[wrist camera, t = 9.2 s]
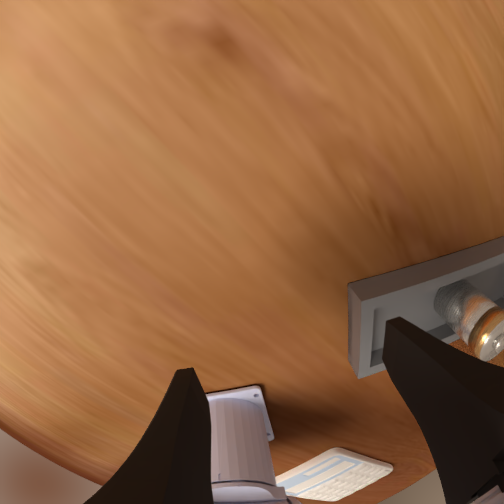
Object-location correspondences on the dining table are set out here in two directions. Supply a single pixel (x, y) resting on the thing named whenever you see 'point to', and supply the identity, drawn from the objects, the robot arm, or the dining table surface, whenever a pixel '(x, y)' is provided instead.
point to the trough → (416, 299)
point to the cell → (472, 318)
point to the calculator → (332, 475)
